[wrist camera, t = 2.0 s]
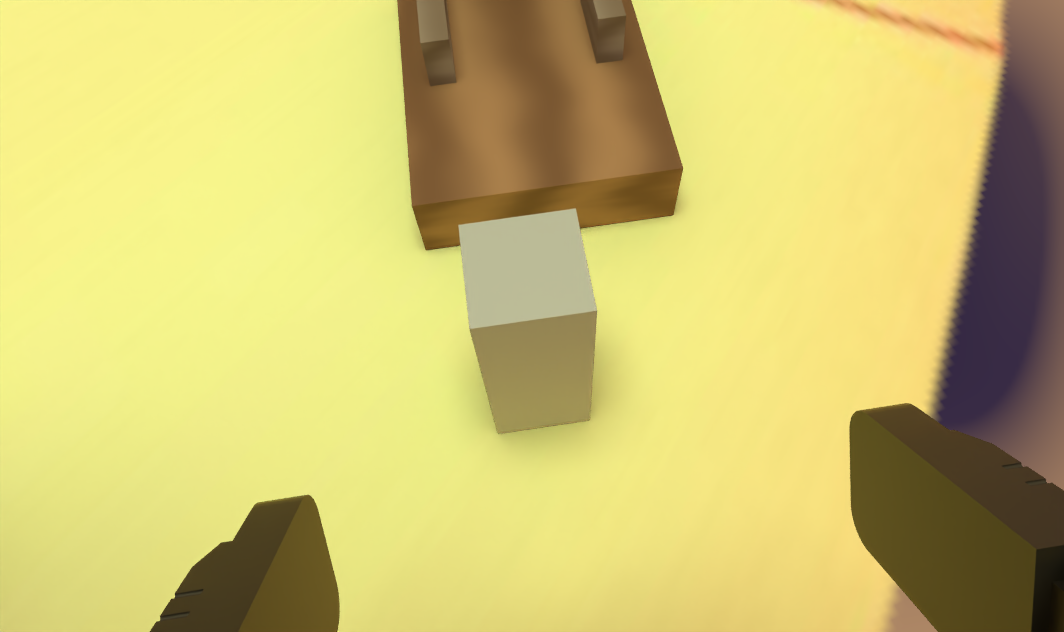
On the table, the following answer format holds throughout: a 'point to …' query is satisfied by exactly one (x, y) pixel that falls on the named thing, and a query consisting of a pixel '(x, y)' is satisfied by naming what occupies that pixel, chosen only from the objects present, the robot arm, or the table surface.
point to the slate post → (531, 317)
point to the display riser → (532, 114)
